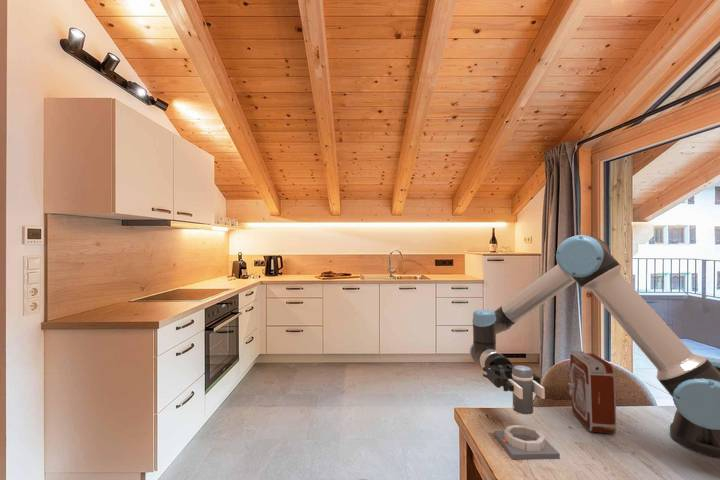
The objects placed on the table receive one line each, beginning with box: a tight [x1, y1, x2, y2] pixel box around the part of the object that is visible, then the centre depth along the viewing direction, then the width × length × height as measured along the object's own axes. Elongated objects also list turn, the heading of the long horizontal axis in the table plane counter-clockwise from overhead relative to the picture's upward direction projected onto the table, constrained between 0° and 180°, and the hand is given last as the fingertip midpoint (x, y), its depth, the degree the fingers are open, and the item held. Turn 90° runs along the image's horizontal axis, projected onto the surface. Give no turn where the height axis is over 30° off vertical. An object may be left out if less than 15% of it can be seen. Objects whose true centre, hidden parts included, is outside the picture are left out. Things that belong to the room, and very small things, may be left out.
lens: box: [511, 365, 534, 415], centre depth 96 cm, size 5×5×11 cm
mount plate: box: [493, 424, 561, 460], centre depth 95 cm, size 12×12×3 cm
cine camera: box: [567, 350, 617, 434], centre depth 110 cm, size 9×19×20 cm, turn 169°
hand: (532, 393), depth 91 cm, fingers closed on lens, 5 cm apart
